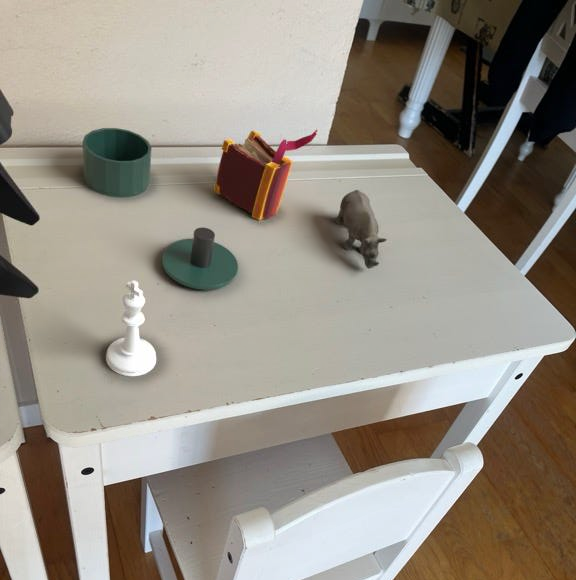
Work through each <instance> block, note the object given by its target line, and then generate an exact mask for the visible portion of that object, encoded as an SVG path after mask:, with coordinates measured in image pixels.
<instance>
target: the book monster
mask: <svg viewBox="0 0 576 580" xmlns="http://www.w3.org/2000/svg"><path fill="white" fill-rule="evenodd" d="M317 132H318V129H315V130H314V131H313V132H312V134H309V135H306V136H303V137H301V138H298V139H296V140H288V141H287V139H286V138H285V139H282V140H281V142H280V144H279V146H278V148H277V150H275V149H274V148H272V147H271V146H270V144H268V143H267V142H266V141H265V140H264V139H263V138H262V137H261V134H260V132H258V131H255V130H250V132H249V134H248V136H247V138H246V139H245V140H244V144H243V145H242V144H241V143H238V144H237V143H235V141H233V140H232V139H230V138H227V139H226V138H225V139H223V143H222V145H221V150H222V154H221V157H220V162H219V165H218V169H217V175H216V182H214V185H213V187H214V188H213V189H214V193H216V194H217V195H222V196H223V197H224V198H226V199H227V200H229V201H230V202H231V203H233V204H235V205H236V206H237V207H239V208H241V209H243V210H244V211H247V212H249V213H251V218H254V219H256V220H258V221H261V220H263V219H264V220H268V219H270V218H271V217H274V216H276V215H277V212H278V211H279V208H280V205H281V201H282V198H283V195H284V191H285V188H286V185H287V181H288V178H289V176H290V172H291V168H292V165H293V160H291V159H290V158H289V157H288V156H285V153H286V152H288V151H294V150H298V149H301V148H303V147H305V146H306V145H308V144H310V143H311V142H312V141H313V140H314V139H315V138H316V136H317Z"/></svg>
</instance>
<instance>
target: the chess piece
mask: <svg viewBox="0 0 576 580" xmlns="http://www.w3.org/2000/svg"><path fill="white" fill-rule="evenodd" d="M125 288H126V289H127V290H128V291H129V292H127V293H125V294H124V295H122V303H123V305H124V307H125V308H124V309H125V311H124V312H122V315H121V318H120V319H121V321H122V323H123V324H124V325H126V330H125V335H124V337H121V338H118V339H116V340H114V341H113V342H111V343H110V345H108V347H107V350H106V355H105V361H106V364H107V366H108V367H109V368H110V369H111V370H112V371H113V372H115V373H116V374H119V375H121V376H125V377H139V376H143V375H146V374H147V373H149V372H151V371H152V370H153V369H154V367H155V366H156V363H157V354H156V350H155V348H154V346H153V345H152V344H151V343H150V342H149V341H148V340H145V339H144V338H140V330H139V327H140V326H142V325H143V324H144V322H145V319H146V318H145V315H144V313H143V312H142V308H143V307H144V306H145V303H146V298H145V296H144V291H143V290H142V289H140V288H139V282H138V281H137V280H135V279H134V280H131V282H130V281H128V282H127V283H125Z"/></svg>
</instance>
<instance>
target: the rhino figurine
mask: <svg viewBox="0 0 576 580" xmlns="http://www.w3.org/2000/svg"><path fill="white" fill-rule="evenodd" d="M340 202H341V203H340V205H339V211H338V214H337V216H335V218H334V222H335V223H336V224H337V225H344V226H345V227H346V228H347V233H348V239H347V240H346V241H344V242H343V243H342V247H343V248H344V249H345V250H346V251H351V250H353V246H354V245H353V244H354V243H355V242H356V241H359V243H360V246H359V247H358V251H359V253H360V254H361V256H362V258H363V261H364V265H365V267H366V269H372V268H374V267H378V266H379V264H380V261H377V258H378V255H379V244H380V243H385V242H386V241H387V240H388V239H387V238H383V237H379V235H378V234H379V230H380V229H379V223H378V221H377V219H376V217H375V212H374V210H373V208H372V206H371V204H370V198H369V197H368V195H367V194H366V193H364V192H362V191H361V190H359V189H354V190H353V191H350V192H348V193H346V194H345V195H344V196H343V197H342V199H341V201H340Z"/></svg>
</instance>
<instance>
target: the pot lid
mask: <svg viewBox="0 0 576 580" xmlns="http://www.w3.org/2000/svg"><path fill="white" fill-rule="evenodd" d="M215 237H216V233H215V232H214V231H213V230H212V229H210V228H208V227H197V228H195V229H194V231H193V236H192V238H182V239H179V240H176V241H174V242H172V243H169V244H168V246H167V247H165V249H164V250H163V252H162V256H161V264H162V268H163V270H164V272H165V273H166V274H167V276H168V277H170V278H171V279H172V280H174V281H175V282H176V283H178V284H180V285H182V286H185V287H188V288H190V289H196V290H204V291H205V290H216V289H221V288H223V287H226V286H228V285H229V284H231V283H232V282H233V281H234V280H235V279H236V277H237V275H238V271H239V263H238V260H237V258H236V256H235V255H234V254H233V252H231V251H230V250H229V248H227V247H225V246H224V245H221V244H220V243H217V242H216V241H215Z"/></svg>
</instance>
